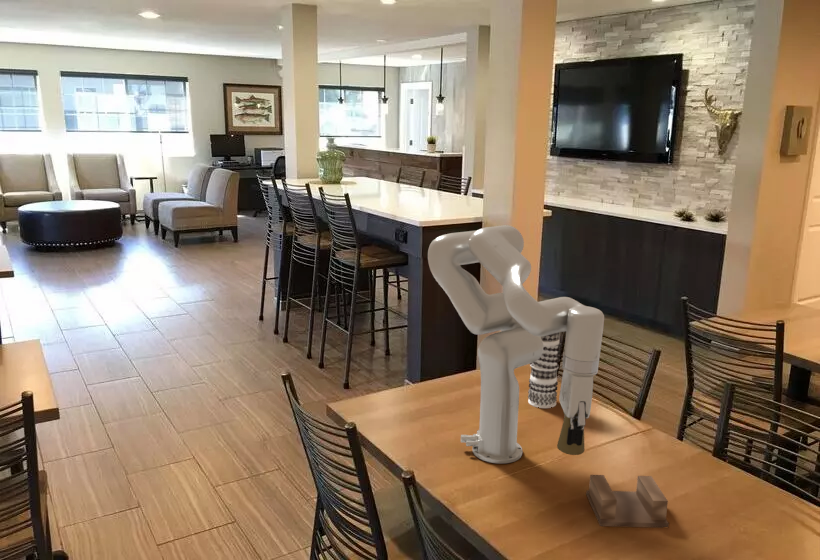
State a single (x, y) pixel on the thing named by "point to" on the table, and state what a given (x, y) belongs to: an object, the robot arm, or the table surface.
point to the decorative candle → (545, 374)
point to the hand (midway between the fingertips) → (571, 438)
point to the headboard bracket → (628, 503)
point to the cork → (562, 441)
